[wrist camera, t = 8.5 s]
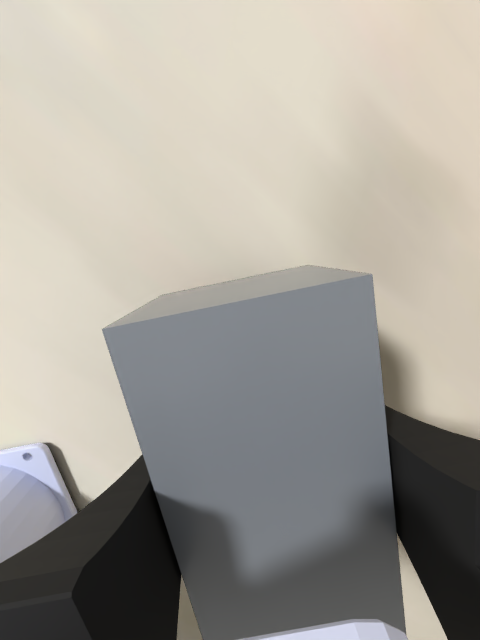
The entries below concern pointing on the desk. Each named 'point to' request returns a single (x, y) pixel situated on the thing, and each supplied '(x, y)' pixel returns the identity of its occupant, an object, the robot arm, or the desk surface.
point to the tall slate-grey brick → (268, 447)
